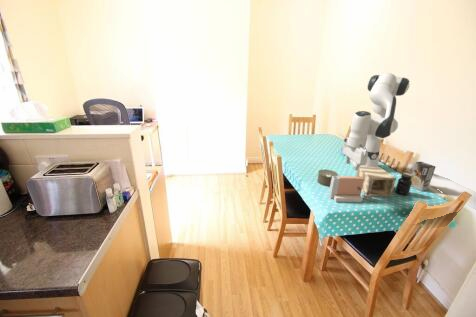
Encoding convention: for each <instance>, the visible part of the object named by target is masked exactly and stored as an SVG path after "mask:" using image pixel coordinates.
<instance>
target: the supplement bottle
mask: <svg viewBox="0 0 476 317" xmlns="http://www.w3.org/2000/svg"><path fill="white" fill-rule="evenodd" d="M411 184H412V181H411V174H407V173H403V174H401V176H400V178H398V179H397V183H396V187H395V189H394V192H395V193H396V194H397V195H400V196H409V193H410V190H411V188H412V187H411Z"/></svg>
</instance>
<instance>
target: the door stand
mask: <svg viewBox="0 0 476 317" xmlns="http://www.w3.org/2000/svg"><path fill="white" fill-rule="evenodd" d="M363 199H364V198H363V197H362V196H361V195H360V196H347V195H334V199H333V200H334V202H335V203H362V202H363Z"/></svg>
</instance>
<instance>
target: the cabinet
mask: <svg viewBox="0 0 476 317" xmlns="http://www.w3.org/2000/svg"><path fill="white" fill-rule="evenodd" d="M356 171H357V172H356V176H355V177H363V178H364V183H363V187H362V191H361V192H363V193H361V195H362V196H361V197H362V198H363V199H364V200H372V199H373V197H392V194H393V190H394V188H395V183H396V181H397V177H395V176H394V175H393V174H391V173H390V172H388V171H386V170H385V169H383V168H382V167H380V166H379V167H359V169H358V170H356Z"/></svg>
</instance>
